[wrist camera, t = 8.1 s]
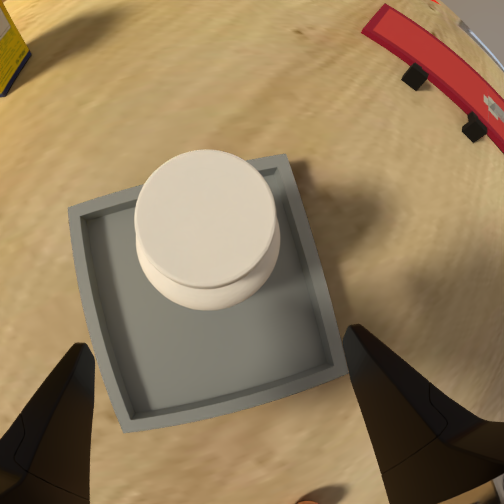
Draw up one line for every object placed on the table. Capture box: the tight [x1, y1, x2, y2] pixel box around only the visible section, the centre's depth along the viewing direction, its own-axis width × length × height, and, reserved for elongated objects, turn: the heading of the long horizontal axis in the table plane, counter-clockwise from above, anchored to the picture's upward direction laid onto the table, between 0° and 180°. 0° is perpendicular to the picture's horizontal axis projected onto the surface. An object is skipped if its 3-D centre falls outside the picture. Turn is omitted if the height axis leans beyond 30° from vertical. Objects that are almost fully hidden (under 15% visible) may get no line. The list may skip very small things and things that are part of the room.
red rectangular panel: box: [361, 4, 504, 153], centre depth 24 cm, size 30×3×15 cm
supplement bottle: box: [134, 150, 280, 311], centre depth 13 cm, size 5×5×10 cm
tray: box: [68, 154, 348, 433], centre depth 17 cm, size 14×14×2 cm
